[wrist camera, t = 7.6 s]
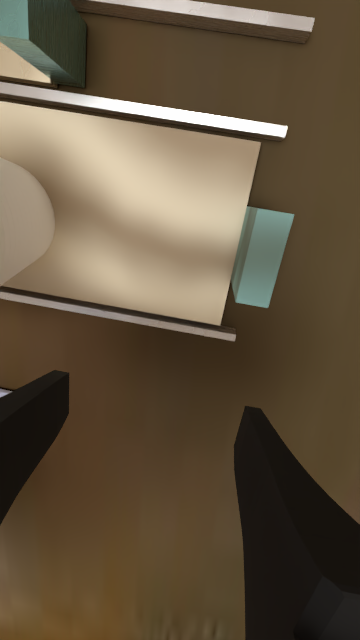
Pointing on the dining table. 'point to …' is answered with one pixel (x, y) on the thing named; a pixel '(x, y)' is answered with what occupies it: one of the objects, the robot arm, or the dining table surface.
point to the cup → (22, 220)
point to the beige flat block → (145, 214)
